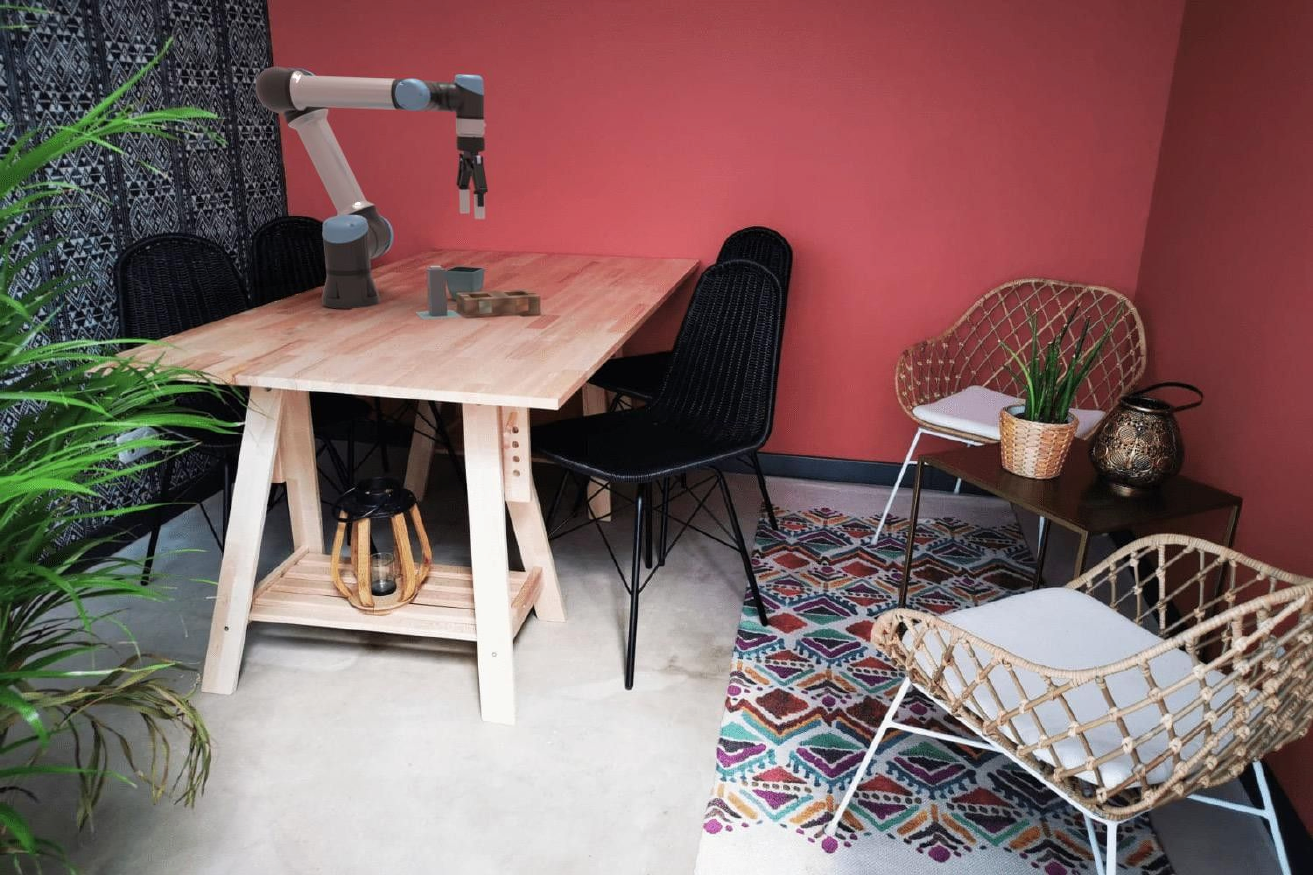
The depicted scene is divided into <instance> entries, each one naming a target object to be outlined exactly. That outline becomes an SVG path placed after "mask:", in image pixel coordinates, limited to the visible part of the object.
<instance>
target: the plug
mask: <svg viewBox="0 0 1313 875" xmlns="http://www.w3.org/2000/svg"><path fill="white" fill-rule="evenodd" d="M445 270H446V269H445V268H444V267H442V266H441V265H430V266H429V267H426V282H427V283H426V285H427V304H428V311H429V314H430V315H431V316H447V310H448V300H447V299H448V298H447V282H446V275H445Z"/></svg>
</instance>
